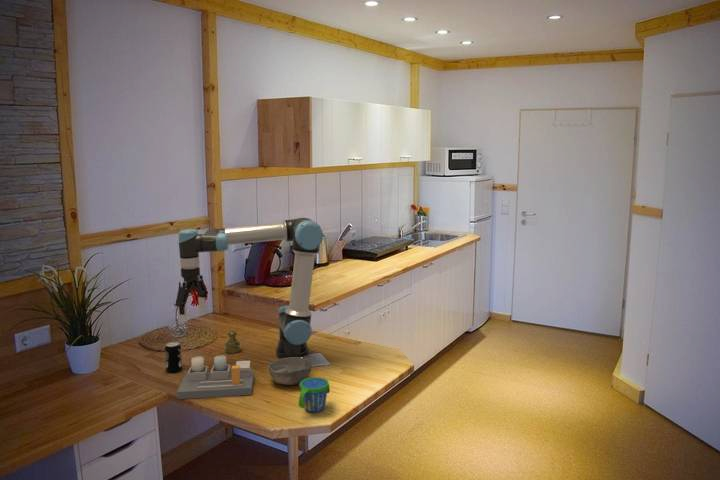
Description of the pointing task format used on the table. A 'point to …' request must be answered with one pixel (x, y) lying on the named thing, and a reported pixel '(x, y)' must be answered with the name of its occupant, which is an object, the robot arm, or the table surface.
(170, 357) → the beverage can
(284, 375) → the bowl
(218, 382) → the console
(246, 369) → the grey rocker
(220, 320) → the table surface
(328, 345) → the table surface
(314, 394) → the snack cup
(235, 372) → the orange slider
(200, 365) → the white rounded cube
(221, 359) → the pale blue rounded cube
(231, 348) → the green figurine
